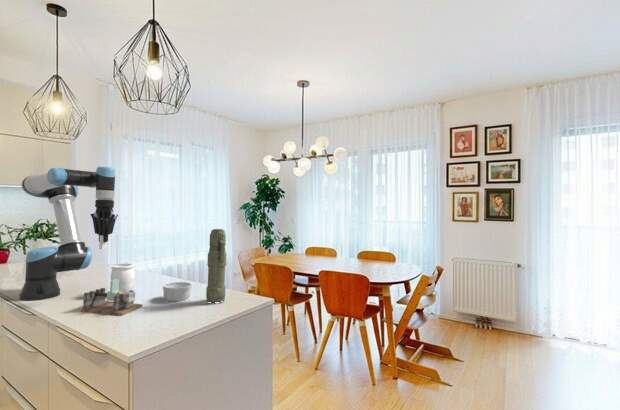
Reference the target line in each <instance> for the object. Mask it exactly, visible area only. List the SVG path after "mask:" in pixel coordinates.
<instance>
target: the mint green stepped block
mask: <svg viewBox="0 0 620 410" xmlns="http://www.w3.org/2000/svg"><path fill="white" fill-rule="evenodd" d="M109 287H110V289H109V290H110V291H106V293H107V297H106V301H111V302H113V301H114V296H115V295H116V294H117V293H118V292H122V291H119V279H115V280H112V281H111V280H110V285H109Z"/></svg>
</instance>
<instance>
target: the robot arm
mask: <svg viewBox="0 0 620 410" xmlns="http://www.w3.org/2000/svg"><path fill="white" fill-rule="evenodd" d="M115 185H116V170H115V168H113V167H109V166H98V167H96V171H89V170H88V171H87V170H80V169H79V170H77V169H69V168H67V169H66V168H61V167H58V168H57V167H51V168H50V169H49V170H48V171H47V173H44V174H40V175H38V174H33V175H31V174H30V175H29V176H26V177H25V178H24V179H23V180H22V182H21V189H22V190H23V192H24V193H26V194H27V195H29V196H32V197H34V198H42V199H43V198H44V199H48V202H49V203H50V204H51V205H53V211H54V216H55V222H56V226H57V232H58V237H59V240H60V241H59V242H60V244H59V245H58V247H57V246H44V247H43V246H42V247H38V248H37V247H36V248H34V249H31V250H29V251H28V252H27V253H26V257H25V277H24V279H25V280H24V281H25V282H24V284H23V286H22V288H21V291H20V293H19V300H22V301H38V300H47V299H51V298H54V297H58V296H60V295H61V288H60V285H59V282H58V279H57V273H64V272H71V271H79V270H80V271H81V270H84V269H87V268H88V267H89V266H90V264H91V262H92V258H93V251H92V248H91V247H90V246H86V243H85V241H83V240H81V236H80V232H79V227H78V221H77V217H76V212H75V208H74V203H73V202H74V201H75V200H76V198H77V197H78V194H79V187H82V188H83V187H85V188H94V189H95V201H94V202H95V203H94V207H95V212H93V213H90V216H91V219H92V225H93V231H94V234H96V235H98V242H99V245H98V246H99V250H107V247H108V246H107V245H108V241H109V235H112V234H113V233H114V232H113V231H114V229H115V228H114V227H115V223H116V222H117V221H116V220H117V218H118V217H119V215H118V213H117V214H116V213H115V212H114V210H113V209H114V207H115V201H114V200H115Z"/></svg>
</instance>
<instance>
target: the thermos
mask: <svg viewBox="0 0 620 410" xmlns="http://www.w3.org/2000/svg"><path fill="white" fill-rule="evenodd" d="M226 237H227V236H226V231H225V230H224V229H220V228H214V229H211V231H210V234H209V244H208V245H209V248H208V249H209V250H208V253H207V261H206V263H207V286H206V291H205V292H206V293H205V294H206V295H205V297H206V301H207V302H211V303H215V302H221V301H224V300H225V301H226V299H225V298H226V285H225V284H226V283H225V281H226V280H225V275H226V266H227V250H226V244H227V243H226V239H227V238H226ZM207 302H206V303H207Z"/></svg>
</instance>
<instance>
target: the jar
mask: <svg viewBox="0 0 620 410" xmlns="http://www.w3.org/2000/svg"><path fill="white" fill-rule="evenodd" d="M110 267H111V269H112V270H111V272H110V282H111V281H112V280H115V279H119V291H122V292H123V293H124V292H129V290H133V286H134V281H135V275H136V274H135V269H134V268H135V267H136V265H135V264H134V263H116V264H113V265H111V266H110Z"/></svg>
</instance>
